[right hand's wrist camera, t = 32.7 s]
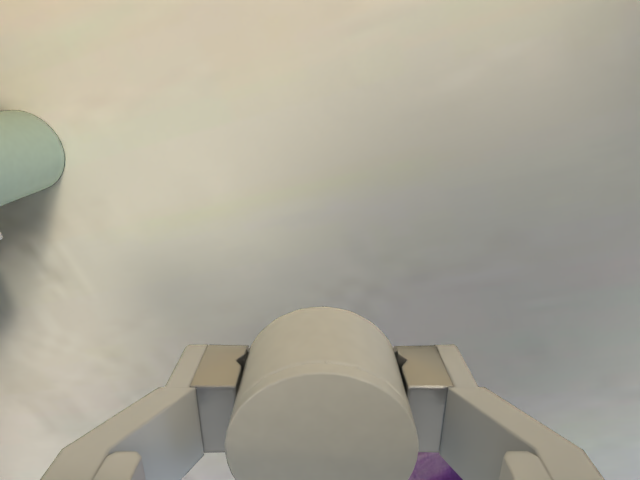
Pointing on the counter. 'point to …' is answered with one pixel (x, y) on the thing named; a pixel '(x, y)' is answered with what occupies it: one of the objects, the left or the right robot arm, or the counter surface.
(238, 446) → the cap
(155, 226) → the counter surface
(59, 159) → the bottle
